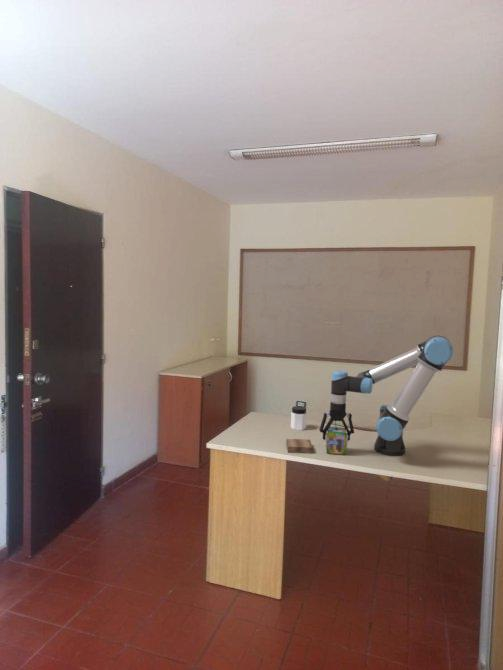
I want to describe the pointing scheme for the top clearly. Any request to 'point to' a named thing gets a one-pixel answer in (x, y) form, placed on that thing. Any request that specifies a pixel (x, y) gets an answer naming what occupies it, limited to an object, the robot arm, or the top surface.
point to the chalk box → (336, 440)
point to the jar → (298, 418)
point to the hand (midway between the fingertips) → (335, 446)
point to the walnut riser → (299, 446)
